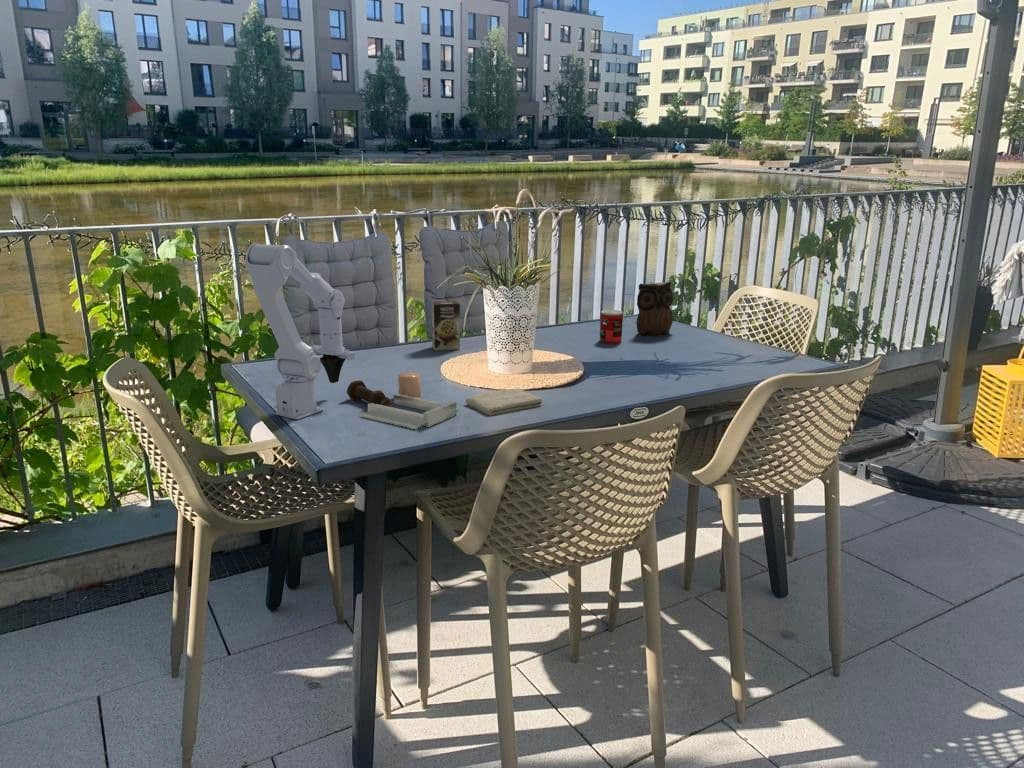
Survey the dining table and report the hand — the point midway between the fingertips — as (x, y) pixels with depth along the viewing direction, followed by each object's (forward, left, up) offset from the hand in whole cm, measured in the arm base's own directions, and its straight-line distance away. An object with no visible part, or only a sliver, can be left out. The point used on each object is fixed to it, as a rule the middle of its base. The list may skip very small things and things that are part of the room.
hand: (334, 382), depth 205 cm
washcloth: (+20, -43, -5) cm, 47 cm away
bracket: (0, -27, -4) cm, 27 cm away
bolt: (0, -13, -5) cm, 13 cm away
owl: (+127, -41, -5) cm, 133 cm away
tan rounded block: (+12, -17, -4) cm, 21 cm away
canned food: (+105, -34, -5) cm, 110 cm away
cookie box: (+63, +9, -5) cm, 64 cm away
